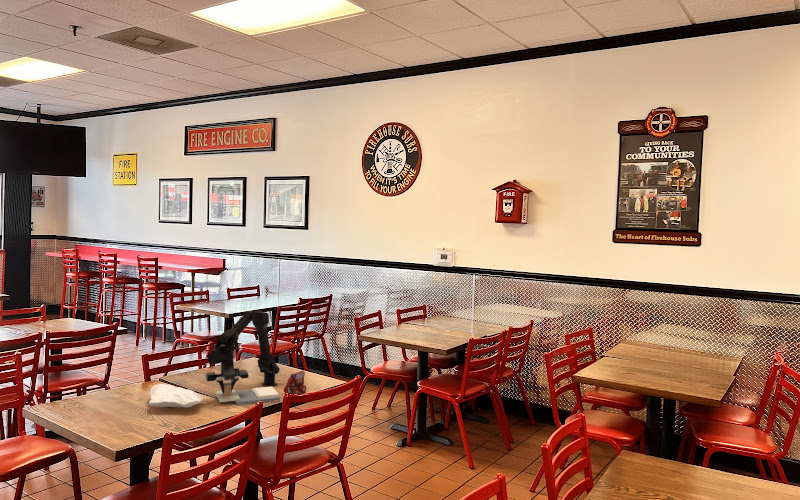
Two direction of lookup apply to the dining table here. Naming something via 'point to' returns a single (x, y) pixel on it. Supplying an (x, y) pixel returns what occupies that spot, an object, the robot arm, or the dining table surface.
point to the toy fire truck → (296, 383)
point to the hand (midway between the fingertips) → (226, 393)
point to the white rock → (173, 396)
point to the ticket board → (257, 395)
